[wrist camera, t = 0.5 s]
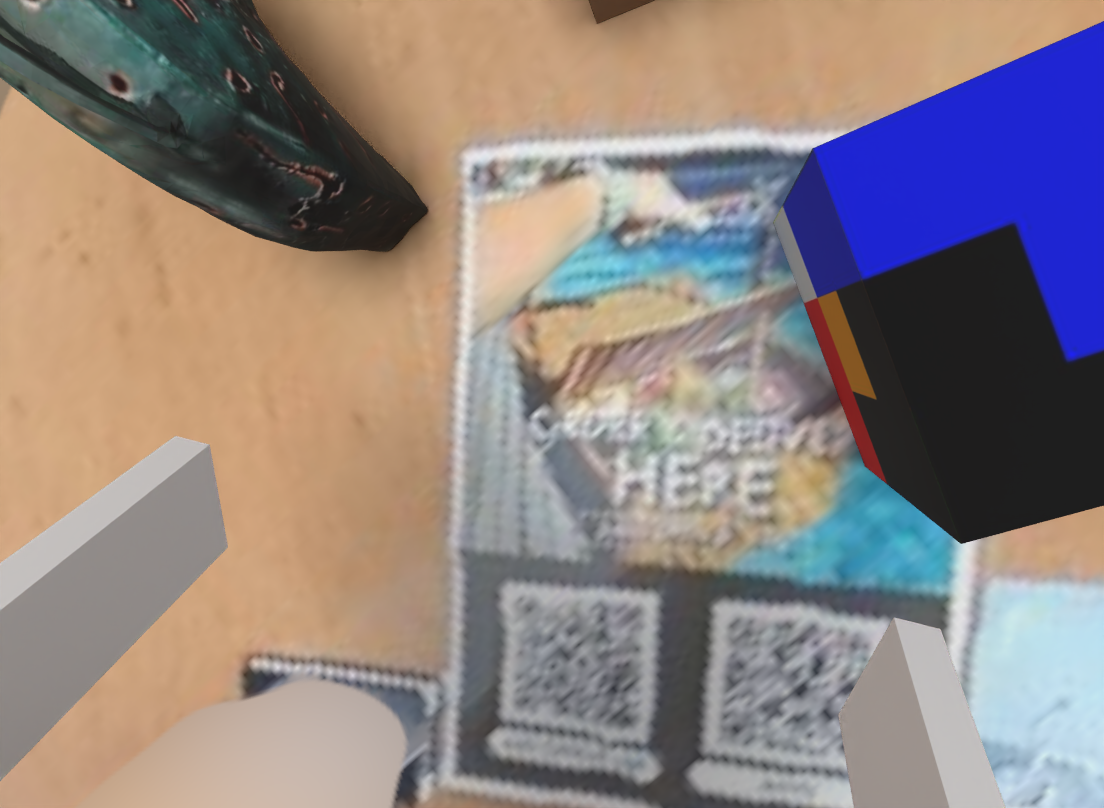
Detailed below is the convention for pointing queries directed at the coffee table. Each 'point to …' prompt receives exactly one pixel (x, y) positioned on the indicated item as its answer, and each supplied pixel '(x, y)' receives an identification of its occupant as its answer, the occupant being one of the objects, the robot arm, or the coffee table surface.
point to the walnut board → (613, 7)
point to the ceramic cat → (208, 116)
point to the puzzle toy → (968, 289)
